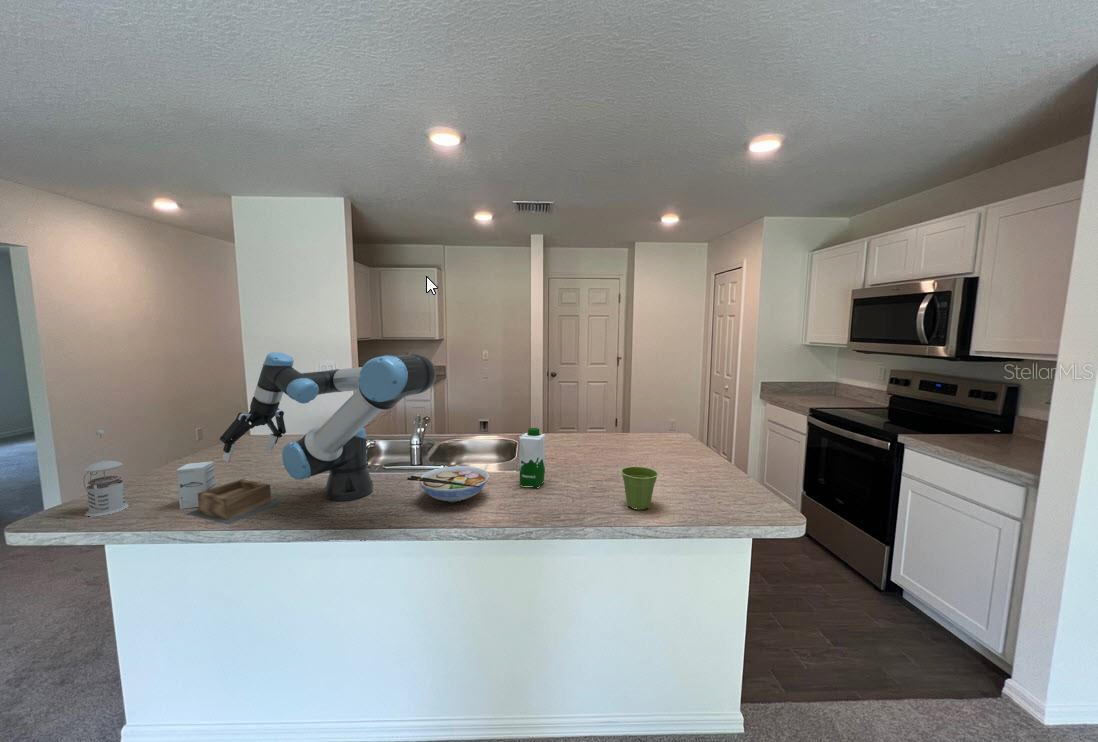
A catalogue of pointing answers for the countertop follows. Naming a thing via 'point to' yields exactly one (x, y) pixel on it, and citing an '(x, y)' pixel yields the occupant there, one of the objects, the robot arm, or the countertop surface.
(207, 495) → the tray
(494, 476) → the countertop surface
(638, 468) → the plant pot
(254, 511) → the mat
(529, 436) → the milk carton
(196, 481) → the supplement box
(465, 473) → the ramen bowl
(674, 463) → the countertop surface
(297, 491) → the countertop surface
